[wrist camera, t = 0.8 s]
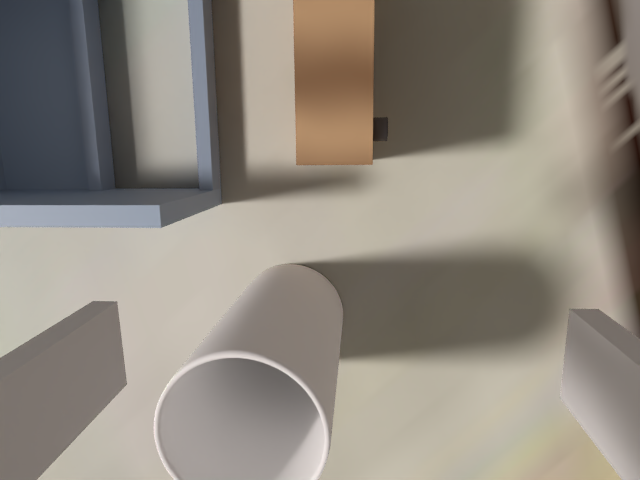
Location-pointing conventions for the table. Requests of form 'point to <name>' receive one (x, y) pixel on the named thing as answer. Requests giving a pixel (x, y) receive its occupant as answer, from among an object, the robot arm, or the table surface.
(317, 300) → the cup
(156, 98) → the table surface
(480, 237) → the table surface
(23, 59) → the cabinet
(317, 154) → the tan wooden block
